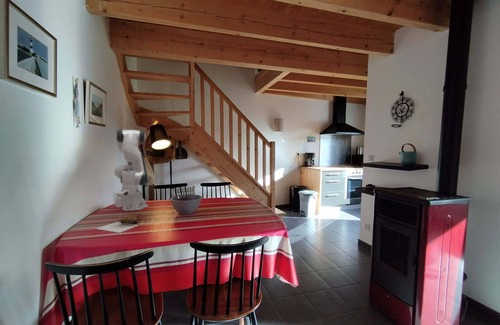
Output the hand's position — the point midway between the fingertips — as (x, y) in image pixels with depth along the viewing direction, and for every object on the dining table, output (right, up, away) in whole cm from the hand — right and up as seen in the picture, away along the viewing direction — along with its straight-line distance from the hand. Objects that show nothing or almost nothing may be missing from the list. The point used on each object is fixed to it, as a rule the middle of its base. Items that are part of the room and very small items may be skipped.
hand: (129, 210), depth 170 cm
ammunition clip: (0, -8, +1) cm, 9 cm away
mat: (-3, -10, -8) cm, 13 cm away
